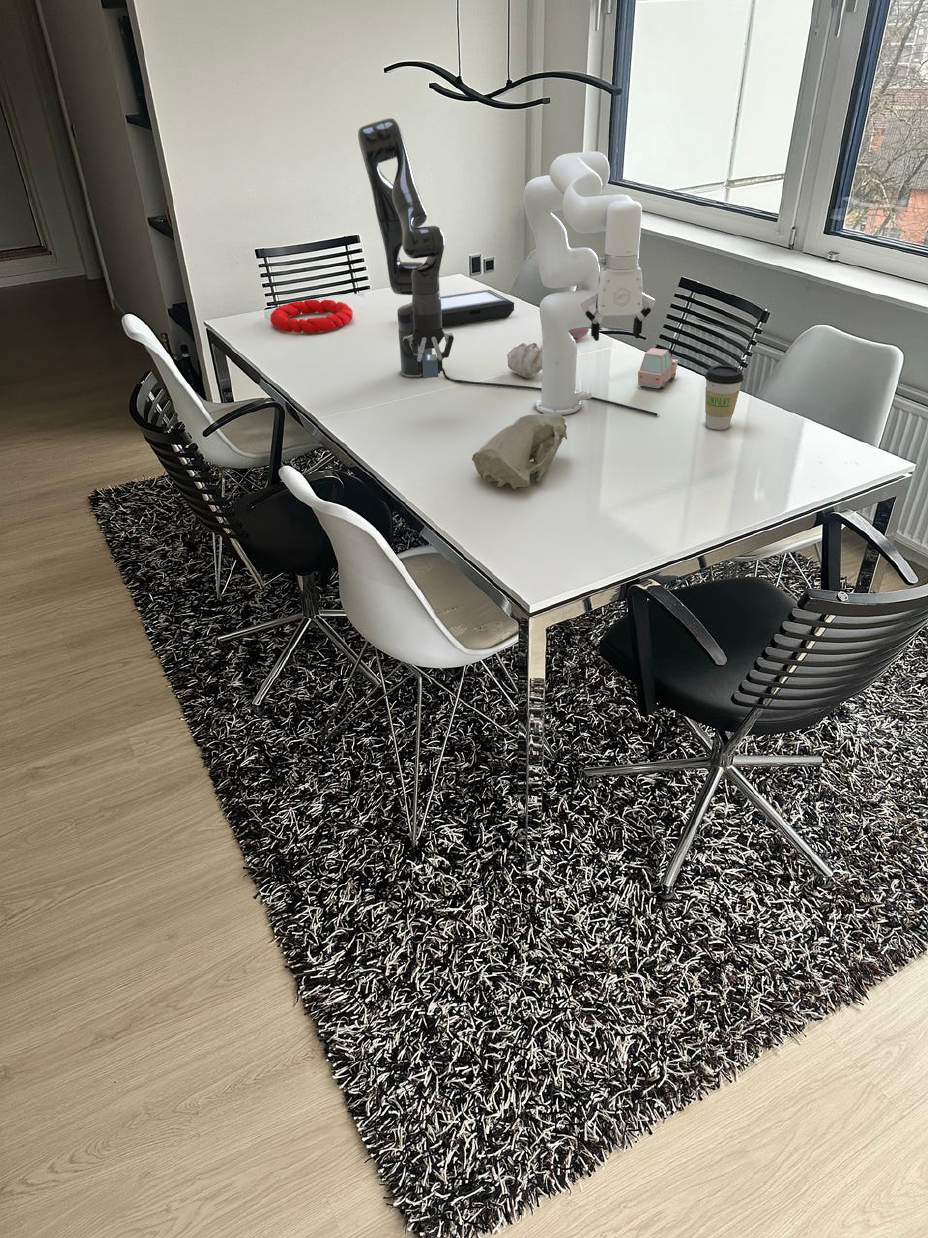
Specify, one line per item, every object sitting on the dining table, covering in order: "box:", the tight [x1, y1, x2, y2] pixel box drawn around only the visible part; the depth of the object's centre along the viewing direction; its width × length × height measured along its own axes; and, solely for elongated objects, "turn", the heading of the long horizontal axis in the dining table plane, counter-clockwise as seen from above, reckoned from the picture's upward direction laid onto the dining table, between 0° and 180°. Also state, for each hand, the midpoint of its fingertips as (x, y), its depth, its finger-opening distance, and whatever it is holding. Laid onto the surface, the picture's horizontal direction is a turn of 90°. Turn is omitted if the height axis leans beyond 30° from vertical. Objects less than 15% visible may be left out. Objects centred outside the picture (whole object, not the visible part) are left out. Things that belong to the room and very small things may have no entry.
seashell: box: [506, 342, 542, 379], centre depth 273 cm, size 10×15×10 cm
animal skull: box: [471, 412, 568, 490], centre depth 215 cm, size 17×25×20 cm
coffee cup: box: [704, 364, 745, 431], centre depth 235 cm, size 10×10×15 cm
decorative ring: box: [269, 299, 354, 334], centre depth 328 cm, size 7×30×30 cm
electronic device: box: [440, 289, 515, 329], centre depth 327 cm, size 32×6×20 cm
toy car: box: [637, 347, 679, 389], centre depth 265 cm, size 9×15×10 cm, turn 149°
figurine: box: [569, 327, 590, 340], centre depth 302 cm, size 9×11×12 cm
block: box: [422, 353, 439, 379], centre depth 241 cm, size 5×4×5 cm
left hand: (430, 372), depth 242 cm, fingers closed on block, 4 cm apart
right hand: (615, 337), depth 210 cm, fingers open, 9 cm apart
